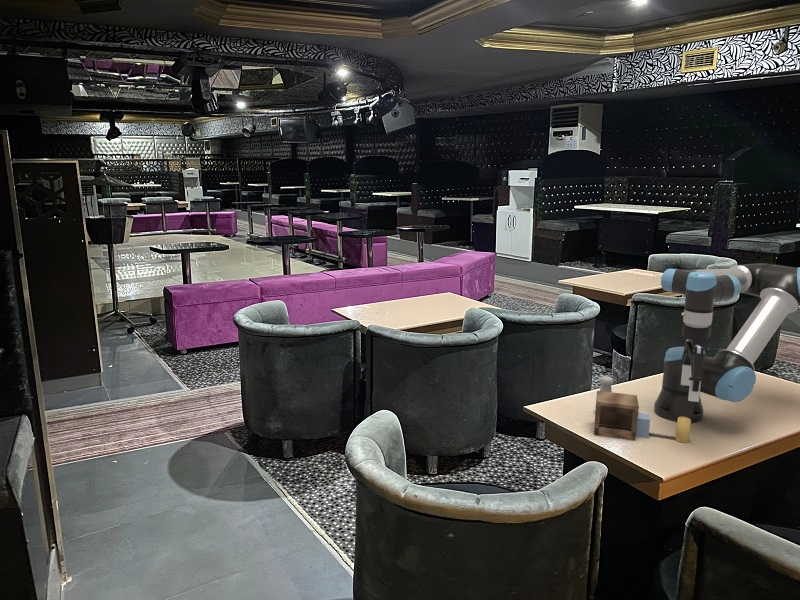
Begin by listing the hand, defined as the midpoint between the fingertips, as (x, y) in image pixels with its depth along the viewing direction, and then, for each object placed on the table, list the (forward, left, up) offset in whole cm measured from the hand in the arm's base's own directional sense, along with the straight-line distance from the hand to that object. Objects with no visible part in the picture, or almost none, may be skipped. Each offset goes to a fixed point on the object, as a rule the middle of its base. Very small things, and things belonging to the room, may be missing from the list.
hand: (689, 392), depth 178 cm
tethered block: (+7, +1, -15) cm, 17 cm away
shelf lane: (+20, +1, -15) cm, 25 cm away
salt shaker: (+23, -13, -15) cm, 31 cm away
